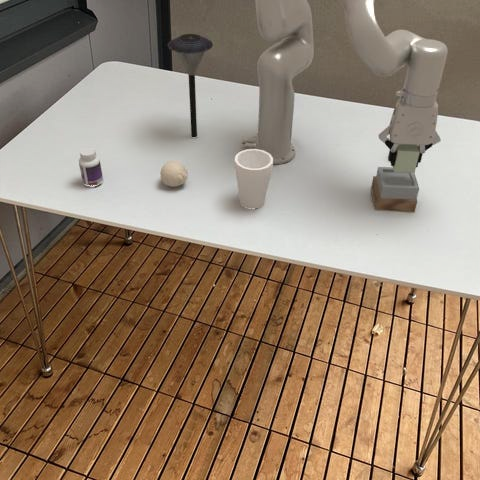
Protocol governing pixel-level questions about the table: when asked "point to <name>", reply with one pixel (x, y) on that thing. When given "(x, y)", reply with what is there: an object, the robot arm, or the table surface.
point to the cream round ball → (173, 173)
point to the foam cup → (253, 176)
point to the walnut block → (391, 201)
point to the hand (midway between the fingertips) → (403, 163)
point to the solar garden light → (191, 65)
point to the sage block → (406, 158)
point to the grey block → (396, 184)
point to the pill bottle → (90, 167)
